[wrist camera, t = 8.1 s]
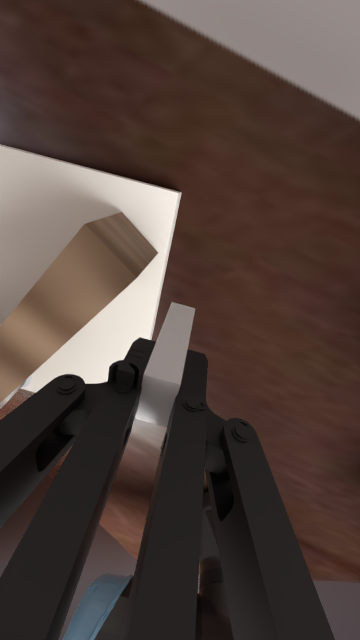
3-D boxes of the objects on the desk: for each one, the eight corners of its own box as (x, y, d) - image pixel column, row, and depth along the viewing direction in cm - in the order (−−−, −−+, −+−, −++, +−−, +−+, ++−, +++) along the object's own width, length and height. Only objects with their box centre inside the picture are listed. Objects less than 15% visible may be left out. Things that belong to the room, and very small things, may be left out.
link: (13, 393, 31) (-50, 459, 24) (-24, 367, 30) (-104, 428, 22) (163, 258, 20) (131, 303, 13) (116, 205, 18) (48, 221, 11)
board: (137, 409, 32) (133, 420, 31) (-47, 359, 33) (-59, 368, 31) (181, 192, 19) (178, 193, 18) (-126, 110, 19) (-154, 105, 18)
